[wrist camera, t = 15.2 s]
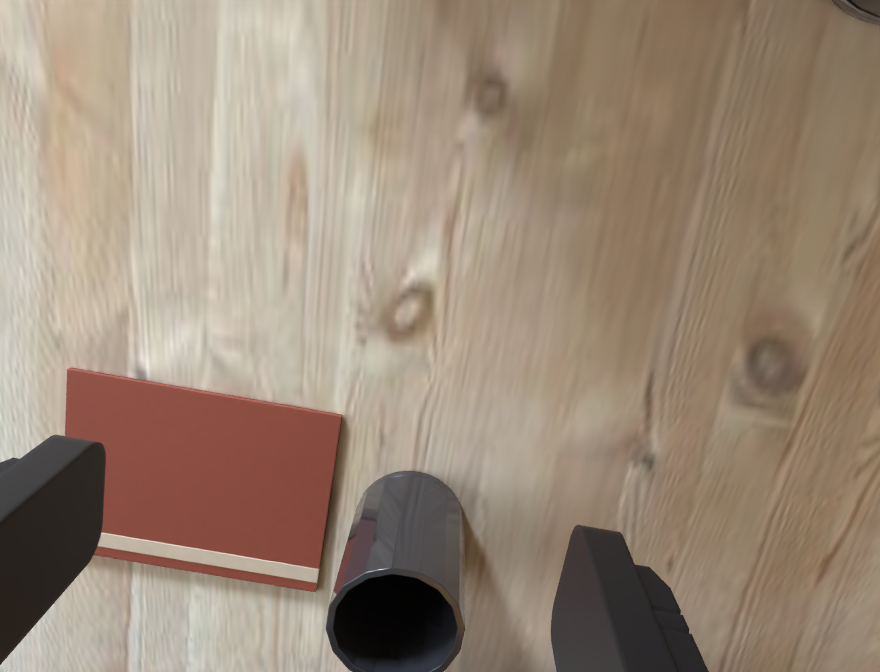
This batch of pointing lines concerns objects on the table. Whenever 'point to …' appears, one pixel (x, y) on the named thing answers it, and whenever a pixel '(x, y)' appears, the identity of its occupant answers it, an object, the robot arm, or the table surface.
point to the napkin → (208, 478)
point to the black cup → (401, 579)
